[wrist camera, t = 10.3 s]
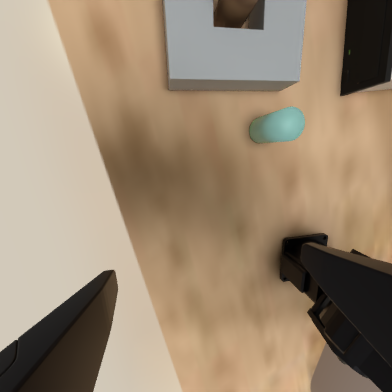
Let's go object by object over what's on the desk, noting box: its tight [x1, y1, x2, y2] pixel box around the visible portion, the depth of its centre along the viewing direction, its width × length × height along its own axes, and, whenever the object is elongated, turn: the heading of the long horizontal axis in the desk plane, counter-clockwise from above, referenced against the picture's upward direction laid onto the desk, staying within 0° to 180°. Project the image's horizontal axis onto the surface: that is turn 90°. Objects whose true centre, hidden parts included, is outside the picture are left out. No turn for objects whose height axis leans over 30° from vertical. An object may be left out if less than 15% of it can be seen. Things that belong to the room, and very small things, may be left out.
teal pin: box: [249, 107, 305, 143], centre depth 18 cm, size 3×3×5 cm
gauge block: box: [163, 0, 307, 91], centre depth 16 cm, size 12×12×3 cm
